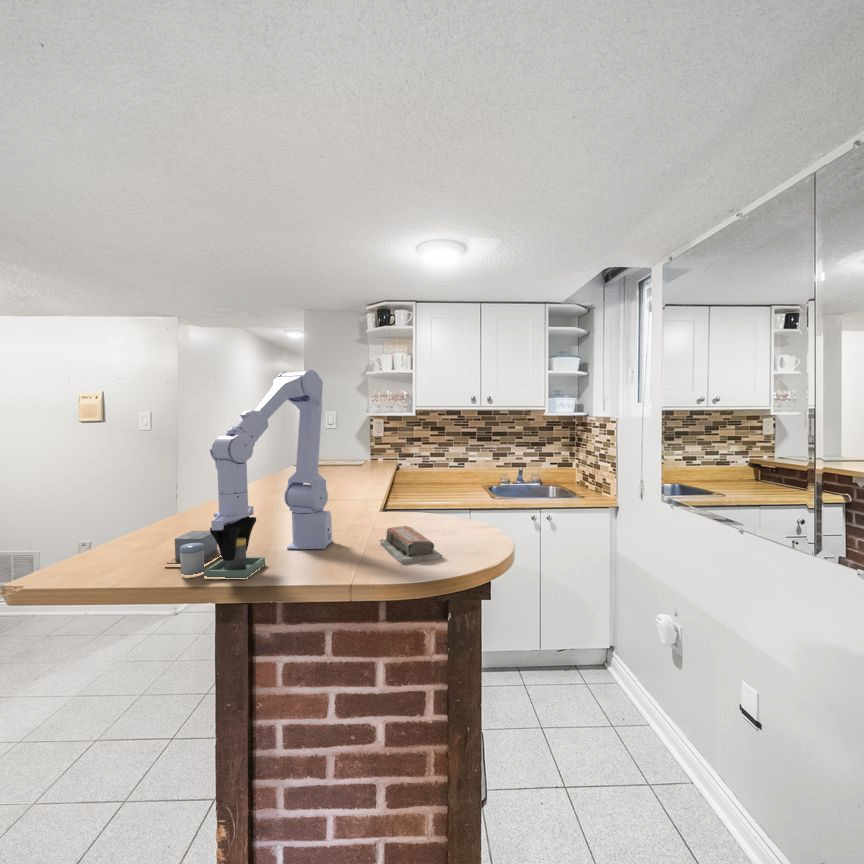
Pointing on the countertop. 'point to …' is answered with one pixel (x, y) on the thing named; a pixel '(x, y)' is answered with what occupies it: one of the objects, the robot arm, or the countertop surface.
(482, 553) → the countertop surface
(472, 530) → the countertop surface
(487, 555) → the countertop surface
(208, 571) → the parts tray
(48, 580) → the countertop surface
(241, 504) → the robot arm
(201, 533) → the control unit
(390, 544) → the packaged product
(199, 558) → the blue part
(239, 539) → the amber part
